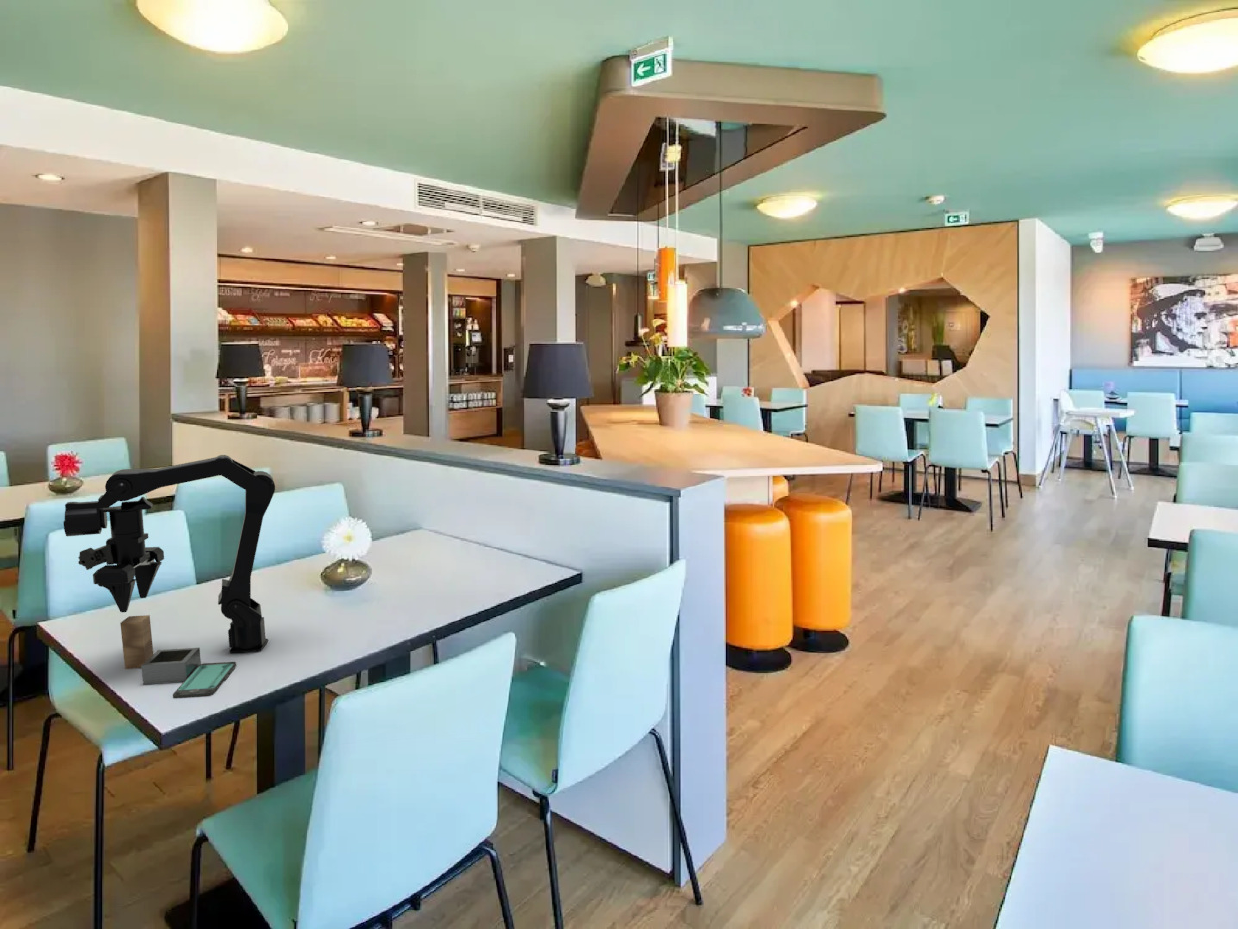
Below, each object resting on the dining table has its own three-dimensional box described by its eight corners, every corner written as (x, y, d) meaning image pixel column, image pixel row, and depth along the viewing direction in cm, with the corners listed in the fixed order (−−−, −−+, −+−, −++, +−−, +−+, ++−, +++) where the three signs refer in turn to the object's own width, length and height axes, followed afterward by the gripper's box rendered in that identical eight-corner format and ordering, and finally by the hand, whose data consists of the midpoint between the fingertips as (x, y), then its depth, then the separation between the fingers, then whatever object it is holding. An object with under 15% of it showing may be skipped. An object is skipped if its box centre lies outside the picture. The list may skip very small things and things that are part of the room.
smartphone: (171, 694, 147) (200, 662, 162) (171, 700, 147) (200, 668, 162) (212, 691, 148) (237, 660, 163) (213, 698, 148) (238, 666, 163)
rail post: (153, 660, 165) (149, 615, 164) (145, 667, 161) (141, 621, 160) (133, 661, 165) (129, 616, 163) (124, 669, 161) (120, 622, 159)
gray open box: (201, 665, 162) (199, 647, 162) (186, 681, 154) (185, 662, 154) (159, 668, 161) (157, 650, 160) (143, 684, 153) (141, 665, 153)
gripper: (106, 522, 167) (112, 593, 169) (59, 543, 148) (67, 622, 151) (162, 521, 169) (167, 590, 171) (123, 541, 150) (129, 619, 153)
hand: (133, 604), depth 161 cm, fingers open, 9 cm apart
